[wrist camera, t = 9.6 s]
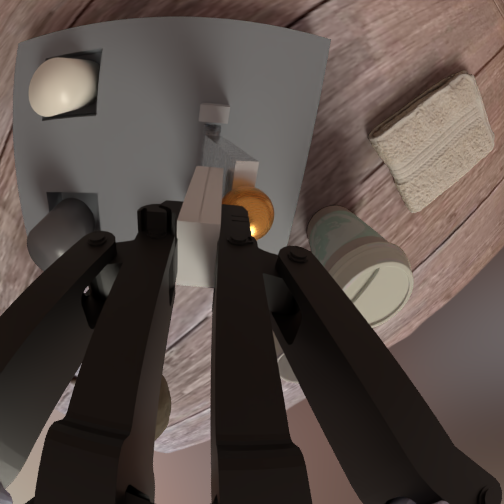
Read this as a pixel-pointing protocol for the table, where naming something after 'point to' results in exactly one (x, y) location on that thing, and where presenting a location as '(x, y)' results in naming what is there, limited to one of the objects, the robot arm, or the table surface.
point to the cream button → (63, 86)
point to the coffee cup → (361, 263)
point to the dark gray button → (59, 231)
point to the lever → (238, 179)
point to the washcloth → (435, 139)
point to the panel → (168, 115)
